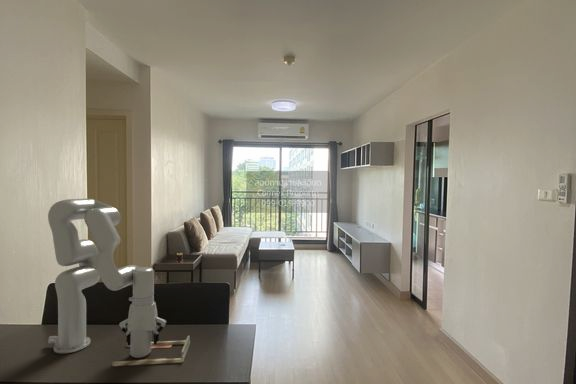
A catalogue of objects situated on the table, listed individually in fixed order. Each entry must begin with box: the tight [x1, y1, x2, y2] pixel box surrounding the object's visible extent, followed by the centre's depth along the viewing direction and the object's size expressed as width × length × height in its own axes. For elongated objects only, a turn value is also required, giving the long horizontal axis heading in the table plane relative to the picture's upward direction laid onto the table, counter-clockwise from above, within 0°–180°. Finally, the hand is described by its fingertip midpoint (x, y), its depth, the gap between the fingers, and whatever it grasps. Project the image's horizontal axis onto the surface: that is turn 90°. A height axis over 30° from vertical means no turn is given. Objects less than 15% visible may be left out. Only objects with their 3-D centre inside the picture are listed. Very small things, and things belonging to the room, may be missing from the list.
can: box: [129, 327, 152, 359], centre depth 127 cm, size 8×8×12 cm
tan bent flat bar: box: [111, 335, 191, 367], centre depth 127 cm, size 25×15×4 cm, turn 97°
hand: (142, 343), depth 127 cm, fingers open, 9 cm apart
